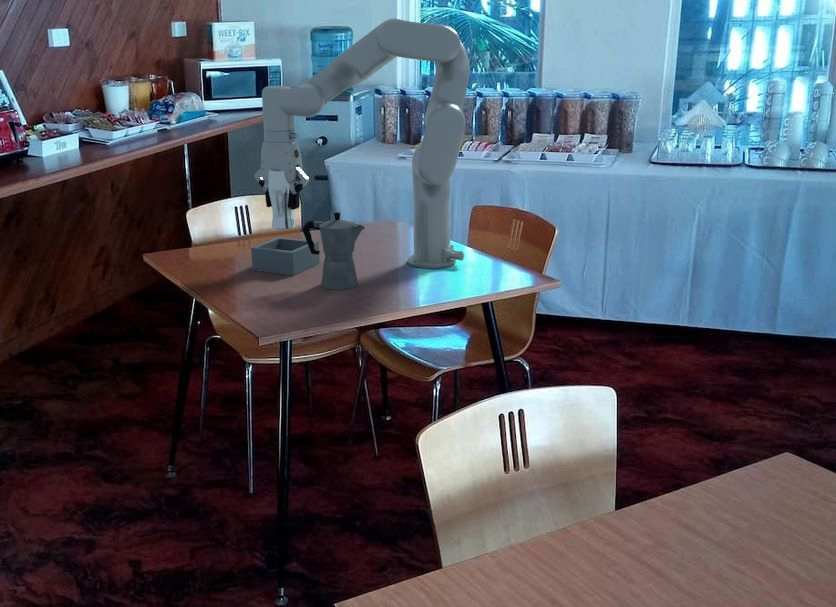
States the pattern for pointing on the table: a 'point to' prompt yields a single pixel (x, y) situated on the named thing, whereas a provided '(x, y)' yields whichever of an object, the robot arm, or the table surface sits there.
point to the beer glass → (280, 200)
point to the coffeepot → (336, 251)
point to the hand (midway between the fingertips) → (282, 206)
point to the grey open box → (284, 256)
